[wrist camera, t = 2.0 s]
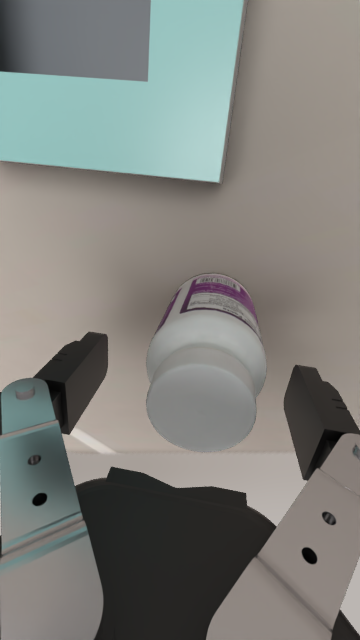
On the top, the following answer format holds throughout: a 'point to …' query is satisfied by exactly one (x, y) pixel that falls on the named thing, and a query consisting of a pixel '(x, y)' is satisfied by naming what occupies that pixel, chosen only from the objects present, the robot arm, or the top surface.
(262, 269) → the top surface
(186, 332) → the pill bottle
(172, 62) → the bin
